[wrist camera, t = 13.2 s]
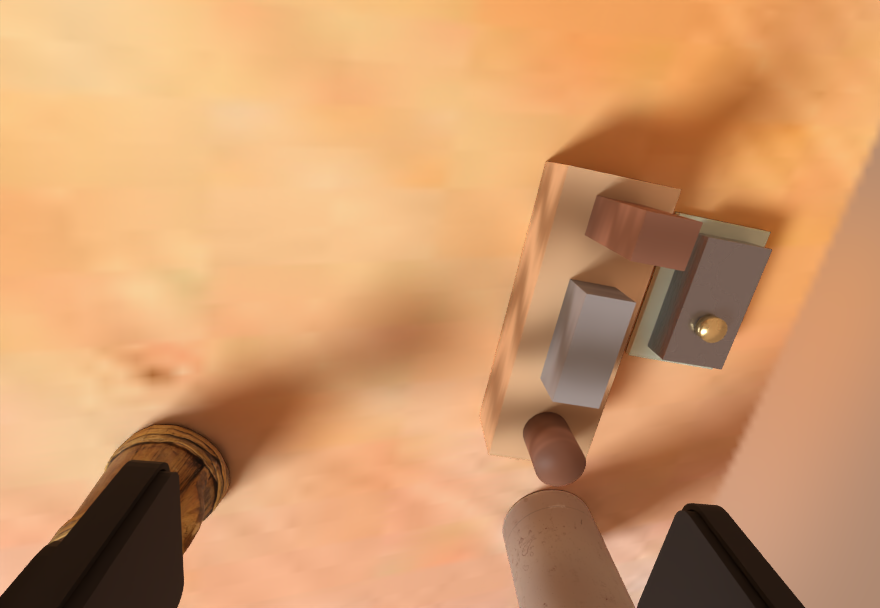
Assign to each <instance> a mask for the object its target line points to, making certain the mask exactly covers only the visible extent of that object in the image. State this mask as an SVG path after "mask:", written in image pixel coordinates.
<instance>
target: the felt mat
mask: <svg viewBox="0 0 880 608" xmlns="http://www.w3.org/2000/svg"><path fill="white" fill-rule="evenodd" d="M675 214H676V215H679V216H682V217H686V218H689V219H693V220H696V221H700V222H703V224H702V226H701V229H700V232H699V233H704V234H709V235H714V236H720V237H725V238H730V239H735V240H740V241H745V242H750V243H753V244H756V245H759V246H763V247H765V244H766V242H767V240H768V237H769V235H770V233H771V232H768V231H764V230H760V229H755V228H750V227H745V226H740V225H736V224H731V223H726V222H721V221H716V220H712V219H707V218H702V217H697V216H692V215H688V214H683V213H678V212H675ZM674 271H675V270H674V269H669V268H664V267H659V266H656V268H655V271H654V274H653V276H652V279H651V282H650V285H649V288H648V290H647V293H646V296H645V299H644V302H643V304H642V307H641V310H640V313H639V316H638V318H637V321H636V324H635V327H634V330H633V332H632V335H631V338H630V341H629V344H628V346H627V349H626V353H627V354H628V355H631V356H637V357H642V358H648V359H654V360H660V361H666V360H662V359H661V358H660V357H659V356H658V355H657V354H656V353H654V352H653V351H652V350H651V349H650V348H649V347H648V346H647V345H648V342H649V340H650V337H651V334H652V331H653V329H654V326H655V323H656V320H657V318H658V315H659V312H660V309H661V307H662V304H663V301H664V298H665V296H666V293H667V290H668V287H669V284H670V282H671V279H672V276H673V273H674ZM666 362H672V363H678V364H684V365H690V366H696V367H702V368H707V369H713V368H710V367H704V366H697V365H691V364H685V363H679V362H673V361H666Z"/></svg>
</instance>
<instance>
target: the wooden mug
mask: <svg viewBox="0 0 880 608" xmlns="http://www.w3.org/2000/svg"><path fill="white" fill-rule="evenodd" d="M130 460H144V461H156V462H166V463H168V465H169V468H170V472H177V473H178V474H179V483H180V506H181V528H182V550H183V554H184V553H185V551H186V550H187V548H188V547H189V546H190V544H191V542H192V540H193V539H194V537H195V535H196V534H197V532H198V530H199V528H200V526H201V523H202V521H204V520H205V519H206V518H207V517H208V516H209V515H210V514H211V513H212V512H213V511H214V510H215V508H216V507H217V506H218V504H219V503H220V501H221V500H222V499H223V497H224V496H225V494H226V491H227V489H228V487H229V484H230V479H229V470H228V468H227V466H226V464H225V462H224V460H223V458H222V455H221V454H220V453H219V451H218V450H217V448H216V447H215V446H214V445H213V444H211V443H210V442H209V441H208V440H207V439H206V438H204V437H203V436H201V435H199V434H197V433H196V432H194V431H192V430H189V429H186V428H183V427H181V426H178V425H153V426H150V427H148V428H145V429H143V430H141V431H139V432H137V433H135V434H134V435H132V436H131V437H130V438H129V439H128V440H127V441H125V442H124V443H123V444H122V445H121V446H120V447H119V448H118V449H117V450H116V451H115V452H114V454H113V456H112V457H111V458H110V460H109V462H108V464H107V465H106V467H105V472H104V474H103V475H102V477H101V478H100V479H99V481H98V482H97V484H96V485H95V487H94V488H93V489H92V491H91V492H90V494H89V495H88V496H87V498H86V499H85V501H84V502H83V504H82V505H81V506H80V508H79V509H78V511H77V512H76V513H75V515H74V516H73V517H72V519H70V520H68V521H67V522H66V523H65V524H64V525H63V526H62V527H61V528H60V529H59V530H58V531H57V533H56V534H55V536H54V537H53V538H52V540H51V541H50V542H49V544H50V543H51V542H53V541H59V540H63V539H64V537H65V536H66V535H67V534H68V533H69V531H70V530H71V529H72V528H73V526H74V525H75V524H76V523H77V522H78V520H79V519H80V518H81V517H82V516H83V514H84V513H85V512H86V511H87V509H88V508H89V507H90V506H91V505H92V503H93V502H94V501H95V500H96V498H97V497H98V496H99V495H100V494H101V492H102V491H103V490H104V489H105V488H106V486H107V485H108V484H109V483H110V481H111V480H112V479H113V478H114V477H115V475H116V474H117V473H118V472H119V471H120V469H121V468H122V467H123V466H124V465H125V464H126V463H127V462H128V461H130Z"/></svg>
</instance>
